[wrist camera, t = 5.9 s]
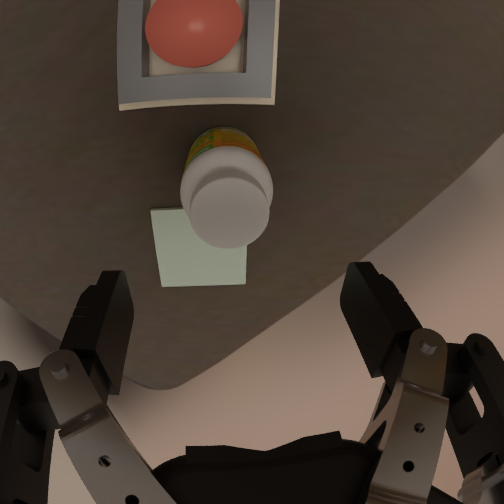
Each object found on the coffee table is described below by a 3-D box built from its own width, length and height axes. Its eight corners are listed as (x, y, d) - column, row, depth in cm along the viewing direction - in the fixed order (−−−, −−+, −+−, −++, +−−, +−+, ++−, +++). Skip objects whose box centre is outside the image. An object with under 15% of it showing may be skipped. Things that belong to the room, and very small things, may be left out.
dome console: (125, -24, 14) (111, -37, 11) (277, -29, 15) (288, -44, 12) (123, 108, 20) (109, 116, 17) (271, 103, 21) (281, 109, 18)
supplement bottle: (206, 113, 21) (202, 144, 13) (270, 144, 23) (304, 192, 15) (177, 175, 23) (159, 239, 15) (238, 201, 25) (251, 273, 17)
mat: (151, 208, 25) (150, 210, 24) (247, 205, 26) (248, 207, 25) (162, 284, 29) (162, 286, 29) (245, 281, 30) (245, 283, 30)
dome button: (155, -4, 14) (147, -14, 12) (240, -7, 15) (244, -18, 12) (154, 70, 17) (144, 70, 15) (237, 67, 18) (241, 66, 16)
